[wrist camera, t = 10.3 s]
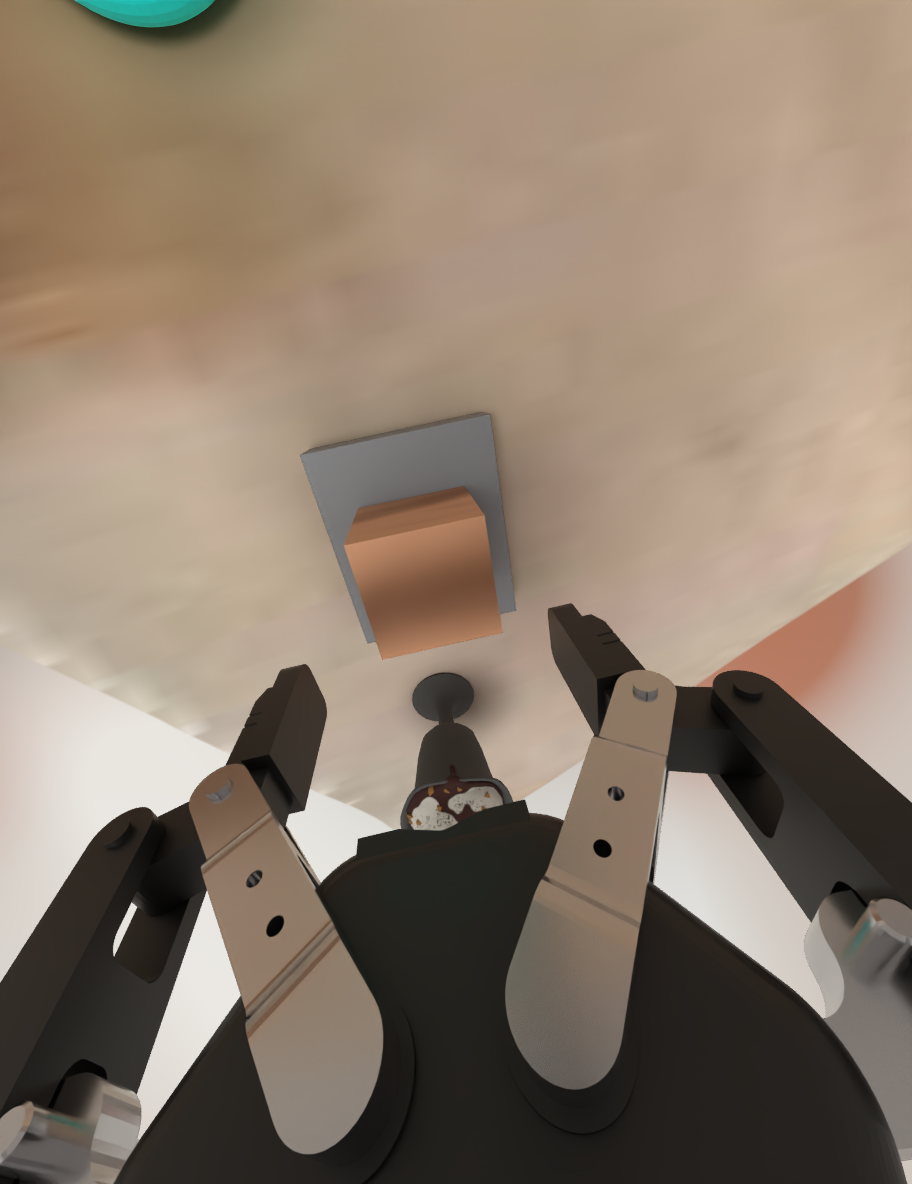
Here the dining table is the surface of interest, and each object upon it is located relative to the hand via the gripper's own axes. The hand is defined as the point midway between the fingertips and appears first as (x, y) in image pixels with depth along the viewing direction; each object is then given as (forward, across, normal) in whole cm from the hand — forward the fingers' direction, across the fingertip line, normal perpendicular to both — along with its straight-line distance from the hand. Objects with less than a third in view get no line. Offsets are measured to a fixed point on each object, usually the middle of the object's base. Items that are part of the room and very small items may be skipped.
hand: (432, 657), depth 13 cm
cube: (+11, 0, 0) cm, 11 cm away
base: (+14, 0, 0) cm, 14 cm away
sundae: (+14, +2, +14) cm, 20 cm away
